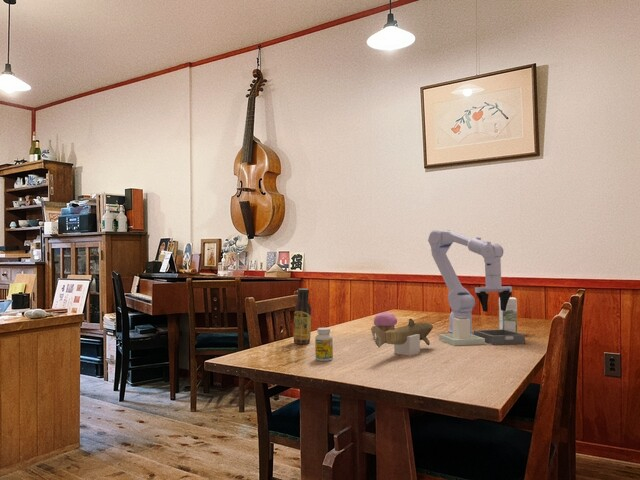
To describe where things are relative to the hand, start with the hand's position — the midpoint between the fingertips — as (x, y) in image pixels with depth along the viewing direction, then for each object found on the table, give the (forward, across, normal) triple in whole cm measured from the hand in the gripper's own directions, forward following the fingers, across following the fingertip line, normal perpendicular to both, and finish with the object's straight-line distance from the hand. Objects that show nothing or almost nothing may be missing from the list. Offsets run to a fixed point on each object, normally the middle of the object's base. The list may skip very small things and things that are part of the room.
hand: (494, 311), depth 187 cm
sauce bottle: (+10, -73, +8) cm, 74 cm away
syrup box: (+11, +12, +10) cm, 18 cm away
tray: (+10, -16, -3) cm, 19 cm away
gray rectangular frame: (+10, -1, -4) cm, 11 cm away
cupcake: (+10, -40, +11) cm, 43 cm away
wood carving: (+11, -44, -18) cm, 49 cm away
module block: (+10, -16, -3) cm, 19 cm away
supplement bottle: (+10, -71, -20) cm, 75 cm away
